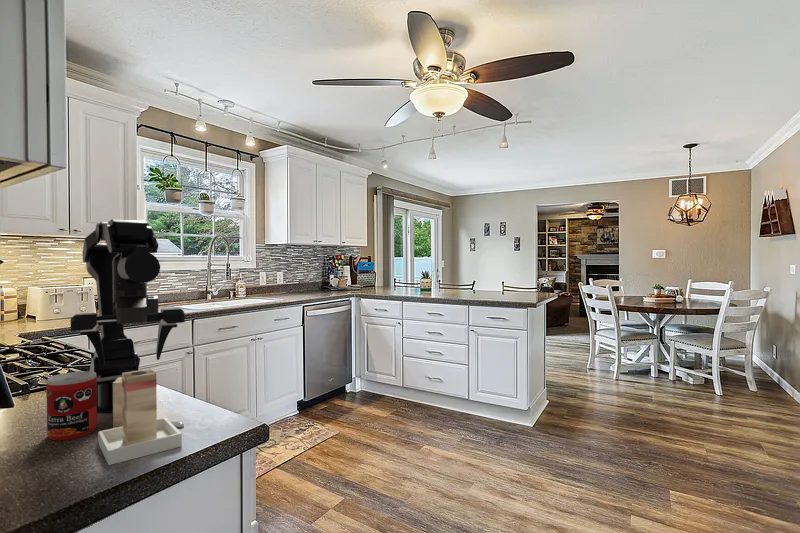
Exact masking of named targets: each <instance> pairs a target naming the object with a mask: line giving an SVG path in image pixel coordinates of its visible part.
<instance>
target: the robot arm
mask: <svg viewBox="0 0 800 533" xmlns="http://www.w3.org/2000/svg"><path fill="white" fill-rule="evenodd" d="M101 240H103V241H105V243H104V242H101ZM82 246H83V247H82V262H83V263H85V264H86V265H85V266H86V271H87V273H88V274H89V275H90V276H91V277H92V278H93V279H94V281H95V285H96V294H97V305H98V307H97V309H98V312H87V313H75V314H74V315H73V316H72V317H71V318H70V331H71V332H74V331H75V332H77V331H79V335H80V336H84V335H85V336H87V338H88V339H89V341H90V342H91V344H92V346H93V348H94V352H93V357H92V358H91V361H90V365H89V371H91V372H95V373H96V376H97V413H113V382H114V381H115V380H116V379H117V378H119V377H122V373H125V372H132V371H139V369H140V368H139V367H140V363H141V358H140V357H139V356H138V353H137V352H136V351H135V346H134V345H135V344H134V341H133V339H132V338H128V337H127V336H126V334H125V332H124V331H125V330H124V325H126V324H136V323H138V324H142V323H151V322H160V323H158V330H157V341H156V348H155V349H156V350H155V354H156V357H155V358H156V361H158V360H160V359H161V355H162V353H163V349H164V347H165V344H166V340H167V338H168V336H169V334H170V332H171V331H172V329H173V328H178V326H179V325H178V324H181V323H185V321H186V320H185V318H186V316H185V314H186V313H185V311H184V310H183V308H180V307H172V308H171V307H169V308H161V309H160V312H159V296H158V295H148V292H147V290H148V289H147V287H148V286H147V284H148V283H149V282H151V281H153V280H155V279H156V278H157V277H158V276H159V274H160V271H161V264H160V261H159V259H158V258H157V257H156V256H155V255H154V254H156V253H158V249H159V243H158V240H157V237H156V234H155V232H154V231H153V227H152V226H149V222H148V221H146V220H133V219H117V218H116V219H114V218H113V219H110V220H109V221H100V222H96V225H95V228H94V230H93V231H92V232H91V233H90V234H89V235H87V236H86V237H85V238H84V240H83V245H82Z"/></svg>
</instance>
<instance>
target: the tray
mask: <svg viewBox="0 0 800 533" xmlns="http://www.w3.org/2000/svg"><path fill="white" fill-rule="evenodd" d="M171 422H172V421H170V420H169V419H168V418H167V417H160V418H157V438H156V439H152V440H148V441H144V442H140V443H136V444H131V445H127V446H125V445H124V443H123V426H122V427H117V428H113V427H112V428H108V429H104V430H100V431H98V433H97V436H98V437H97V438H98V444H97V445H98V447H99V448H100V451H101V453H102V455H103V456H104V459H105V461H106V463H107V465H108V466H111V465H115V464H119V463H122V462H126V461H131V460H133V459H137V458H141V457H145V456H149V455H153V454H158V453H162V452H165V451H168V450H169V451H170V450H172V449H177V448H180V447H182V446H183V445H182V444H183V442H182V440H183V439H182V438H183V437H182V436H183V435H182V434H183V433H182V432H181V431H180V430H179V428H176V427H175V426H174V425H173V424H172V423H171Z"/></svg>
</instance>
